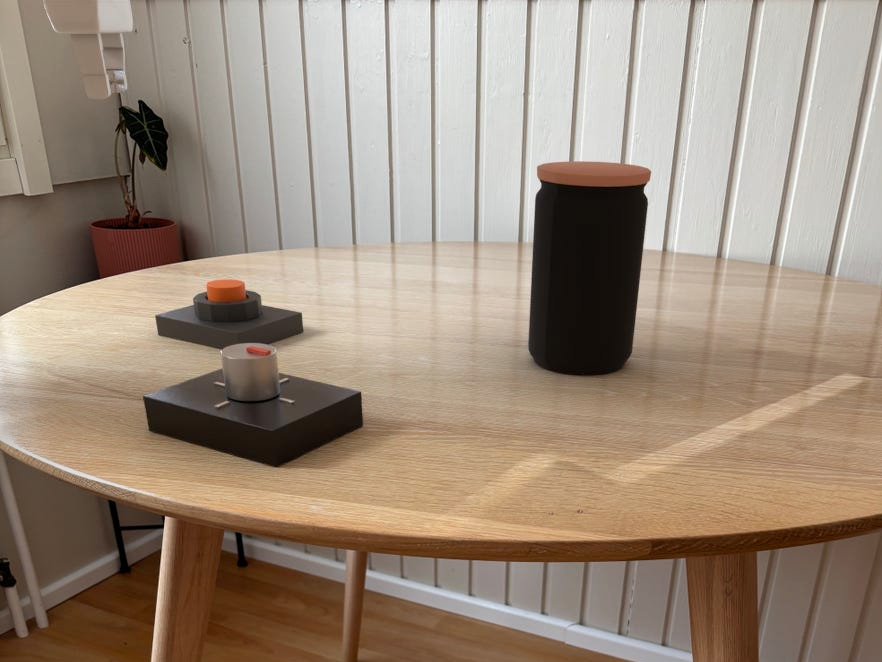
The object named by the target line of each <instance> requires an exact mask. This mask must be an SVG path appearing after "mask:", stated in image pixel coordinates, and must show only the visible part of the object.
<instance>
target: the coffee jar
mask: <svg viewBox="0 0 882 662" xmlns="http://www.w3.org/2000/svg"><path fill="white" fill-rule="evenodd" d="M536 176H537V179H538V180H539V182H540V188H539V190H538V191H537V192H536V193H535V198H534V216H533V218H534V219H533V235H532V236H533V237H532V238H533V239H532V241H533V242H532V258H531V259H532V260H531V279H530V280H531V281H530V301H529V303H530V304H529V321H528V322H529V323H528V340H527V341H528V343H527V346H528V352H529V355H530V356H531V357H532V359H533V362H534V363H535V364H536V365H537V366H539V367H540V368H543V369H545V370H548V371H551V372H555V373H560V374H566V375H575V376H576V375H577V376H592V375H593V376H595V375H605V374H609V372H610V373H614V372H616V371H618V370H620V368H621V369H622V368H623V367H624V366H625V364H626V362H627V361H628V360H629V358H630V357H631V355H632V353H633V346H634V338H635V328H636V319H637V310H638V302H639V301H638V299H639V291H640V282H641V274H642V273H641V272H642V263H643V253H644V245H645V244H644V243H645V236H646V225H647V217H648V216H647V215H648V207H649V200H648V197H647V195H646V194H645V187H646V186H647V185H648V183H649V182H650V181H651V177H652V171H651V170H650V168H648V167H644V166H641V165H636V164H630V163H619V162H609V161H583V160H582V161H581V160H579V161H577V160H576V161H575V160H573V161H555V162H553V161H551V162H546V163H542V164H539V165H537V166H536ZM622 366H623V367H622ZM613 371H614V372H613Z"/></svg>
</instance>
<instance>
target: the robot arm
mask: <svg viewBox="0 0 882 662" xmlns="http://www.w3.org/2000/svg"><path fill="white" fill-rule="evenodd" d="M42 2H43V3H42V4H43V6H44V9H45V12H46V15H47V17H48V20H49V22H50V24H51V27H52V28H53V30H54V31H55V32H56V33H57V34H69V35H70V38H71V44H72V50H73V54H74V56H75V59H76V61H77V64H78V67H79V70H80V72H81V75H82V80H83V85H84V91H85V95H86V96H87V98H88V99H90V100H97V101H98V100H101V101H103V100H104V101H105V100H107V99H109V98H111V95H112V94H113V93H115V94H119V93H120V94H121V93H124V92H126V91H127V90H128V81H127V76H126V75H127V74H126V64H125V63H126V60H125V59H126V57H125V44H124V43H125V42H124V37H123V34H124V33H125V34H126V33H132V32H133V30H134V19H133V10H132V4H131V0H42Z"/></svg>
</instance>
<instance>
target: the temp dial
mask: <svg viewBox="0 0 882 662" xmlns="http://www.w3.org/2000/svg"><path fill="white" fill-rule="evenodd" d="M220 358H221V359H220V361H221V367H222V368H223V375H224V383H225V390H226V395H227V396H228V397H229V398H231V399H234V400H238V401H262V400H267V399H271V398H274V397H276V396H277V395H279V394H280V382H279V373H280V372H279V363H278V354H277V349H276V347H275V346H273V345H271V344H268V345H267V344H260V343H243V344H236V345H231V346H228V347H226V348H224V349H222V350H221V349H220Z"/></svg>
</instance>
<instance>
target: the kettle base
mask: <svg viewBox="0 0 882 662" xmlns="http://www.w3.org/2000/svg"><path fill="white" fill-rule="evenodd" d="M245 291H246V299H244V300H241V301H233V302H215V301H210V300H208V295H207V291H204V292H199V293H197V294H196V295H194V296H193V297H192V301H193V304H191V305H188V306H184V307H180V308H177V309H173V310H169V311H166V312H162V313H159V314H155V315H154V317H155V325H156V329H157V336H159V337H163V338H168V339H172V340H177V341H181V342H186V343H191V344H195V345H199V346H204V347H209V348H212V349H218V350H220V351H221V350H222V349H224V348H226V347H228V346H231V345H236V344H243V343H260V344H267V345H271V344H273V343H276V342H281V341H283V340H286V339H288V338H291V337H295V336H297V335H300V334H303V333H304V324H303V323H304V321H303V313H302V312H301V311H295V310H290V309H286V308H285V309H284V308H280V307H274V306H268V305H263V303H262V295H261V294H260V293H258V292H256V291H254V290H247V289H245Z"/></svg>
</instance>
